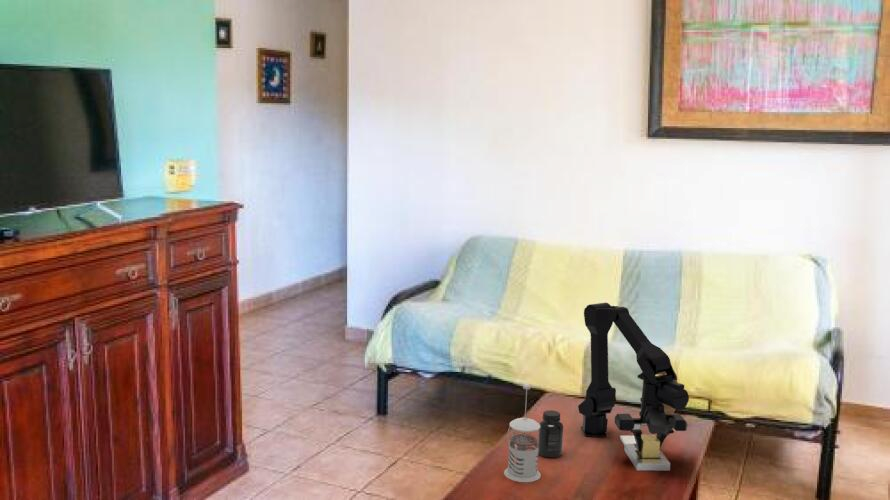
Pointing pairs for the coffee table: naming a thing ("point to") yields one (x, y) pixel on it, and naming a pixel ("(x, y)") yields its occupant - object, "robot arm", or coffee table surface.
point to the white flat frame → (646, 460)
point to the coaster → (628, 439)
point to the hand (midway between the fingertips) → (648, 451)
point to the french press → (523, 450)
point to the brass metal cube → (649, 447)
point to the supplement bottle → (550, 435)
